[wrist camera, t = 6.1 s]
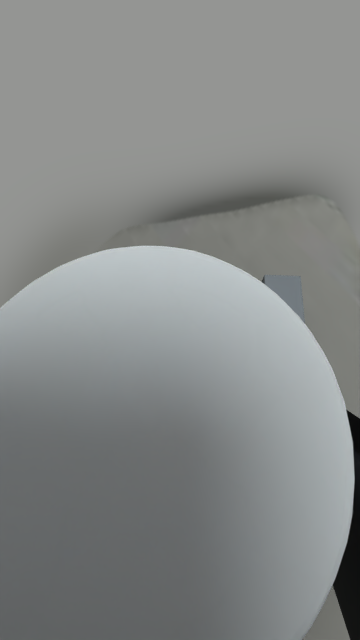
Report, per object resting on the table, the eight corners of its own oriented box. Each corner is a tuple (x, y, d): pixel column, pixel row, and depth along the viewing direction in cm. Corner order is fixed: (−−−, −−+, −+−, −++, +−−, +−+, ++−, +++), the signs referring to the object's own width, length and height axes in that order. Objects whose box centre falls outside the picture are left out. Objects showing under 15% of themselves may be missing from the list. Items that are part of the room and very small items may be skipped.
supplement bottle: (96, 429, 15) (-262, 396, 3) (185, 348, 17) (155, 127, 5) (180, 542, 13) (2, 1600, 1) (273, 437, 14) (611, 434, 3)
